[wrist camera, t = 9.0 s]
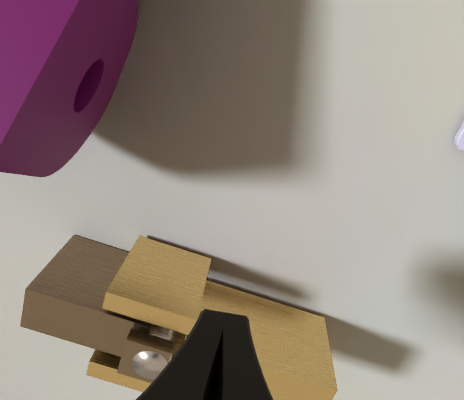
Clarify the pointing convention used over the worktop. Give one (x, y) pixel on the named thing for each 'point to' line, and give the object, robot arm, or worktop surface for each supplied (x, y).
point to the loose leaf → (224, 300)
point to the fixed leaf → (94, 309)
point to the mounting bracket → (57, 76)
